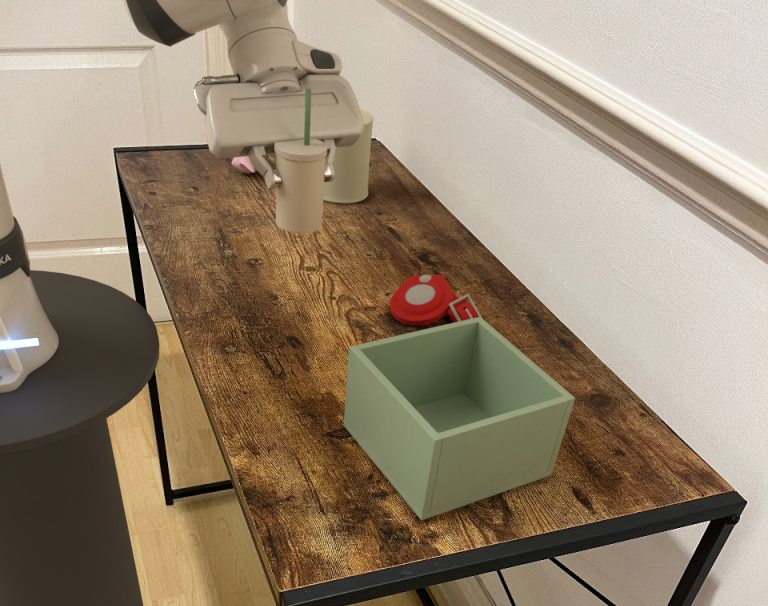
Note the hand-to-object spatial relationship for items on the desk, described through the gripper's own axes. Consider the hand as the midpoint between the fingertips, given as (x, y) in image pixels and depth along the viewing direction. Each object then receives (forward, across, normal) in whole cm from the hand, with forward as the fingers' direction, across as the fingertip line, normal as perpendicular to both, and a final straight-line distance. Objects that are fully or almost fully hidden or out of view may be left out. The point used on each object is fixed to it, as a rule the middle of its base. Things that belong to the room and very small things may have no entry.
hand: (302, 183), depth 97 cm
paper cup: (+3, 0, +4) cm, 5 cm away
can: (-7, +17, +24) cm, 30 cm away
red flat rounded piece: (+21, +10, -4) cm, 23 cm away
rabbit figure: (-15, +6, +32) cm, 36 cm away
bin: (+37, -3, -20) cm, 42 cm away
